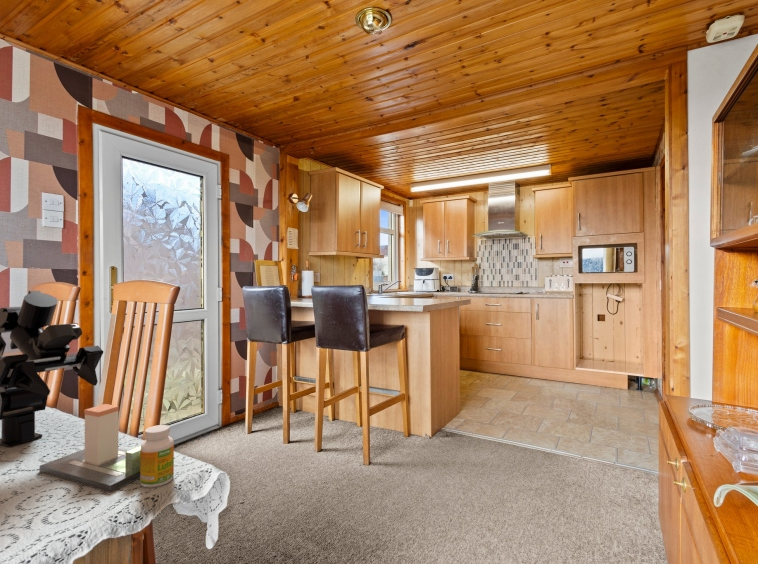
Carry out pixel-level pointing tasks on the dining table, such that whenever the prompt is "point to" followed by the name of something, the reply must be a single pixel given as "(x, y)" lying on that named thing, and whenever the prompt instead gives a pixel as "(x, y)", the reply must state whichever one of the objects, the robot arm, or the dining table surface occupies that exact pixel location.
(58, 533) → the dining table surface
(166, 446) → the supplement bottle
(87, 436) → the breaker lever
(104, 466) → the plate
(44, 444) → the dining table surface
